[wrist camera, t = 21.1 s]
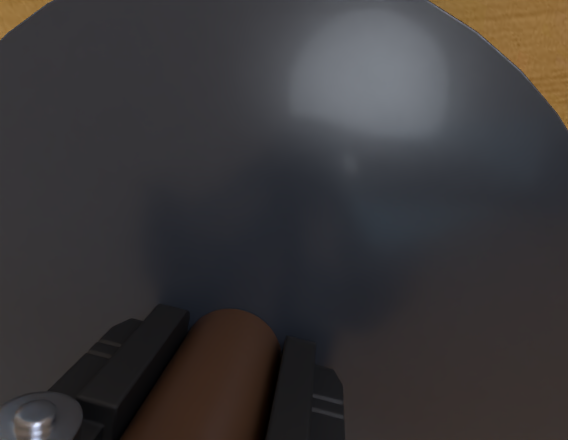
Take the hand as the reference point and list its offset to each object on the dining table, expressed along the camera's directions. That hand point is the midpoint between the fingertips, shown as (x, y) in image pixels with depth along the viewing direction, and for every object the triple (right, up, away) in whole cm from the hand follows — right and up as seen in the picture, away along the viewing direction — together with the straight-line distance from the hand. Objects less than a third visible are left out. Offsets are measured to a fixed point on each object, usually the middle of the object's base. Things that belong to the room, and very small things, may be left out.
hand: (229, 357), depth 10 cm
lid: (0, 0, +1) cm, 1 cm away
